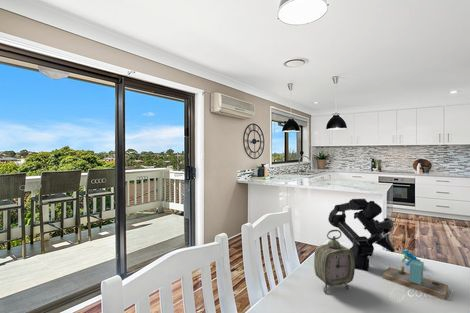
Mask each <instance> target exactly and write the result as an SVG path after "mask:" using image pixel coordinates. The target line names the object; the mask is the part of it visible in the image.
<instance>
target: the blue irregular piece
mask: <svg viewBox="0 0 470 313" xmlns="http://www.w3.org/2000/svg"><path fill="white" fill-rule="evenodd" d="M412 259H413V260H417V261H421V260H420V259H419V258H417V256H416V255H413V253H412V252H410V251H408V250H405V249H403V258H402V259H401V262H404V261H405V260H408V261H407V262H406V263H405V265H406V266H408V265H410V262H411V261H412Z"/></svg>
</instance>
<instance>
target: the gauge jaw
mask: <svg viewBox="0 0 470 313" xmlns="http://www.w3.org/2000/svg"><path fill="white" fill-rule="evenodd" d="M424 266H425V262H424V261H421V260H420V261H417V260H413V259H412V261H411V262H410V263H409V272H408V273H409V281H410V282H413V283H416V284H419V285H421V283H422V281H423V277H424Z"/></svg>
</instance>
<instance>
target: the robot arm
mask: <svg viewBox="0 0 470 313" xmlns="http://www.w3.org/2000/svg"><path fill="white" fill-rule="evenodd" d="M346 211H356V212H354V213H353V219H354V220H356V219H357V220H358V221H359V222H360V223H361V224H362V226H363V230H365V231H367V232H368V233H369V234H370V235H369V237H367V236H360V235H358V233H357V232H356V231H355V230H354V229H352V228H351V227H350V225H348V224H347V222H346V217H347V215H346ZM382 212H383V210H382V207H381V206H380V205H379V204H378V203H377V202H375V201H374V200H370V201H367V199H366V198H352V199H350V200H349V201H348V202H344V203H341V204H335V205H334V208H332V210H331V211H330V212H329V215H328V219H327V221H328V223H329V224H330V225H331V226H333V227H335V228H337V229H338V230H339V231H340V232H341V233H342V234H343V235H344V236H345V237H346V238H347V239H348V240H349V241H350V242H351V244H352V246H351V247H350V248H349V249H350V250H351V251H353V253H354V256H355V269H357V270H362V271H366V272H367V271H369V268H370V257H372V256H373V253H374V250H375V247H374V245H373V244H375V245H378V246H380V247H382V248H384V249H386V250H388V251H390V252H391V253H394V252H396V250H395V248H394V245H393V244H392V242H391V240H390V233H389V232H391V231H393V227H395V225H394V220H393V219H391V218H390V217H385V218H383V220H382V221H379V220H378V219H375V218H376V217H378V216H379V215H380V214H382ZM338 213H339V214H338ZM340 213H341V214H340Z"/></svg>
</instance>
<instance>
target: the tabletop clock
mask: <svg viewBox="0 0 470 313" xmlns="http://www.w3.org/2000/svg"><path fill="white" fill-rule="evenodd" d="M333 232H338V233H339V234H340V235H339V236H337V237H336V236H335V235H333V236H332V238H331V237H329V234H330V233H333ZM341 237H342V231H341V230H340V229H332V230H329V231H328V232H327V234H326V238H327V239H328V242H327V243H326V244H321V245H317V246H316V247H315V249H314V257H313V262H314V265H313V266H314V273H315V276H316V277H317V278H318V279H319V280H321V281H322V282H323V283H324V285H325V286H324V287H325V288H323V293H325V294H327V293H328V289H327V288H328V286H329V287H335V286H337V287H338V286H342V285H345V289H346V290H350V285H349V283H351V282H352V281H353V279H354V277H355V269H356V268H355V256H354V253H353V251H351V250H350V248H348V247H345V246H344V245H342V244H341V243H340V242H339V241H338V239H340V238H341Z"/></svg>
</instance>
